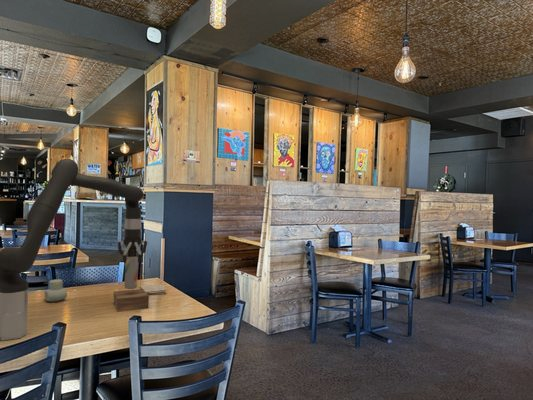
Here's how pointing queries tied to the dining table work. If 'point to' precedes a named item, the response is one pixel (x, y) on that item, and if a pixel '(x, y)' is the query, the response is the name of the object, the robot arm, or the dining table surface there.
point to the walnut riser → (130, 300)
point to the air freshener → (55, 291)
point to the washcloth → (154, 289)
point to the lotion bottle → (131, 269)
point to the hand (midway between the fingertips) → (131, 262)
